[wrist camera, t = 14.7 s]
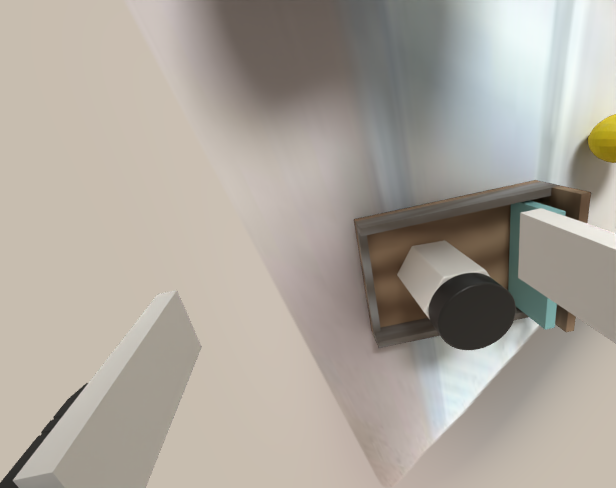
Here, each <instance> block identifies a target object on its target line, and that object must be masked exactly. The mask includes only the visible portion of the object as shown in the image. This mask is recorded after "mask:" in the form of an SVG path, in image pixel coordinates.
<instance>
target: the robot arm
mask: <svg viewBox="0 0 616 488" xmlns="http://www.w3.org/2000/svg"><path fill="white" fill-rule="evenodd" d="M518 278H519V279H521V280H522V281H524V282H525V283H527V284H528V285H530V286H531V287H533V288H534V289H536V290H537V291H539V292H540V293H542V294H543V295H544V296H546V297H547V298H549V299H550V300H552V301H553V302H555V303H556V304H558V305H559V306H561V307H562V308H564V309H565V310H567V311H568V312H570V313H571V314H573V315H574V316H576V317H577V318H579V319H580V320H582V321H583V322H585V323H586V324H587V325H589V326H590V327H592V328H593V329H595V330H596V331H598V332H599V333H601V334H602V335H604V336H605V337H607V338H608V339H610V340H611V341H613V342H614V343H616V233H614V232H611V231H608V230H605V229H602V228H599V227H596V226H593V225H590V224H587V223H584V222H581V221H578V220H575V219H572V218H569V217H566V216H563V215H560V214H557V213H554V212H551V211H548V210H545V209H542V208H539V209H535V210H530V211H526V212H521V213H520V237H519V267H518ZM200 350H201V344H200V342H199V340H198V337H197V335H196V333H195V330H194V328H193V326H192V324H191V321H190V319H189V317H188V315H187V312H186V310H185V307H184V305H183V303H182V300H181V298H180V296H179V294H178V291H177V290H175V291H170V292H166V293H161V294H157V296H156V297H155V298H154V300H153V301H152V302H151V303H150V305H149V306H148V307H147V309H146V310H145V311H144V312H143V314H142V315H141V316H140V318H139V319H138V320H137V321H136V323H135V324H134V325H133V326H132V328H131V329H130V330H129V332H128V333H127V334H126V335H125V337H124V338H123V339H122V341H121V342H120V343H119V344H118V346H117V347H116V348H115V350H114V351H113V352H112V354H111V355H110V356H109V357H108V359H107V360H106V361H105V362H104V364H103V365H102V366H101V368H100V369H99V370H98V372H97V373H96V374H95V375H94V377H93V378H92V379H91V380H90V382H89V383H86V384H85V385H84V386H83V387H82V388H81V389H79V390H78V391H77V392H76V393H75V394H74V395H72V396H71V397H70V398H69V399H68V400H67V401H66V402H65V404H64V405H63V406H62V407H61V408H60V410H59V411H58V412H57V413H56V415H55V416H54V420H52V421H50V422H49V423H48V424H47V426H46V427H45V428H44V429H43V431H42V432H41V433H42V434H41V436H38V437H37V438H36V440H35V441H34V442H33V443H32V444H31V446H30V447H29V448H28V449H27V450H26V452H25V453H24V454H23V455H22V457H21V458H20V459H19V460H18V462H17V463H16V464H15V465H14V467H13V468H12V469H11V470H10V471H9V473H8V474H7V475H6V476H5V478H4V479H3V480H2V482H1V483H0V488H146V486H147V483H148V480H149V478H150V475H151V473H152V470H153V468H154V465H155V463H156V460H157V458H158V455H159V453H160V450H161V448H162V445H163V443H164V440H165V437H166V435H167V433H168V430H169V428H170V425H171V423H172V420H173V418H174V415H175V412H176V410H177V408H178V405H179V402H180V400H181V398H182V395H183V392H184V390H185V387H186V385H187V382H188V380H189V377H190V375H191V372H192V370H193V367H194V365H195V362H196V360H197V357H198V355H199V352H200Z"/></svg>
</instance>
